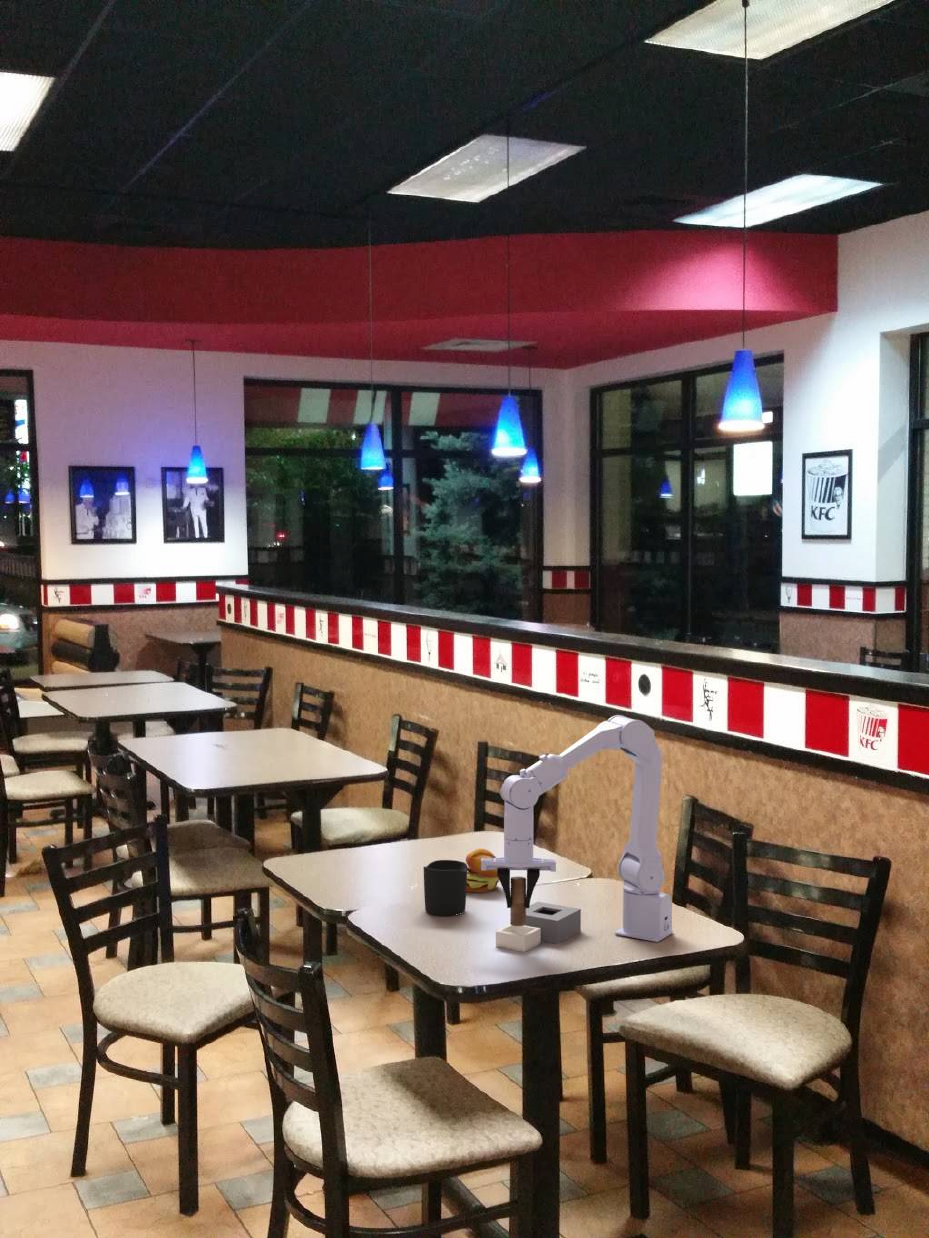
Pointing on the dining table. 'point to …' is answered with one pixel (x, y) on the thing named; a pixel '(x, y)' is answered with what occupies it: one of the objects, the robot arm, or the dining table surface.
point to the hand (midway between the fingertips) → (518, 906)
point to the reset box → (554, 921)
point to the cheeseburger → (480, 872)
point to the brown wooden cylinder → (518, 901)
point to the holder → (518, 937)
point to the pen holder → (445, 887)
